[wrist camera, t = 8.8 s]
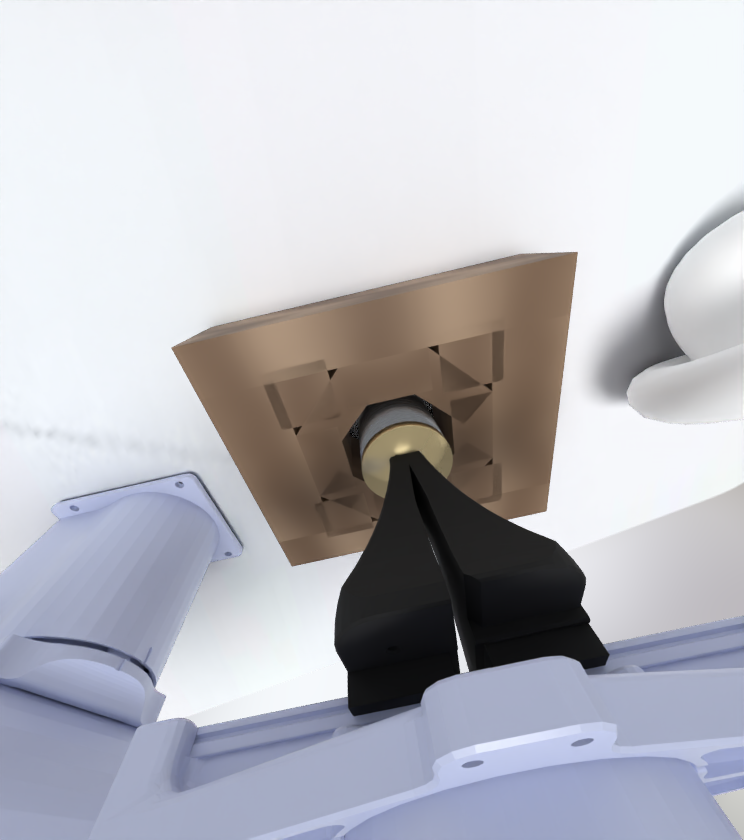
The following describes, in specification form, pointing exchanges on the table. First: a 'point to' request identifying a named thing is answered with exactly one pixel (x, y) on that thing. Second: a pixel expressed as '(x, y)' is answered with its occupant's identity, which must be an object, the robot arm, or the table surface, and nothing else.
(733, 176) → the table surface
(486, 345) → the jig
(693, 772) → the robot arm
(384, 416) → the brass capped cylinder
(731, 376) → the white knot sculpture
